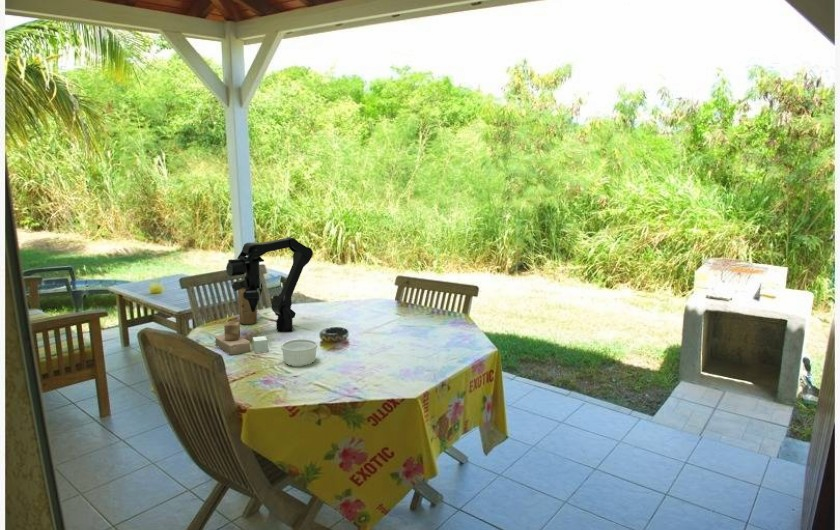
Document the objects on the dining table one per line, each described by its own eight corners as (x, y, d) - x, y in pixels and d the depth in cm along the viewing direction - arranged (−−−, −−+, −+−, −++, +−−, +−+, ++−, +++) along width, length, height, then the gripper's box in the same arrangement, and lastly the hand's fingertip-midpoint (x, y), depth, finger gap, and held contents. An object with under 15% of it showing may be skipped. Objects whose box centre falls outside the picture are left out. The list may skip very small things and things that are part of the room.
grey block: (265, 347, 227) (265, 336, 226) (267, 351, 223) (267, 339, 222) (252, 349, 225) (252, 337, 224) (254, 353, 221) (254, 341, 220)
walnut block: (240, 335, 228) (239, 321, 227) (237, 339, 223) (237, 325, 222) (227, 336, 227) (226, 321, 226) (224, 340, 222) (224, 325, 221)
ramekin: (286, 370, 204) (286, 352, 203) (278, 358, 216) (277, 341, 214) (321, 364, 210) (321, 347, 209) (311, 353, 222) (311, 336, 220)
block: (257, 324, 258) (256, 281, 254) (240, 325, 254) (239, 283, 251) (254, 317, 267) (253, 277, 263) (238, 319, 264) (236, 278, 260)
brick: (214, 345, 229) (214, 334, 228) (234, 341, 235) (233, 330, 234) (230, 357, 217) (230, 345, 216) (251, 352, 222) (251, 341, 222)
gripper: (235, 268, 242) (237, 303, 246) (229, 278, 224) (231, 315, 228) (262, 268, 244) (264, 302, 247) (257, 277, 226) (259, 314, 229)
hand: (254, 308), depth 238 cm, fingers open, 9 cm apart
